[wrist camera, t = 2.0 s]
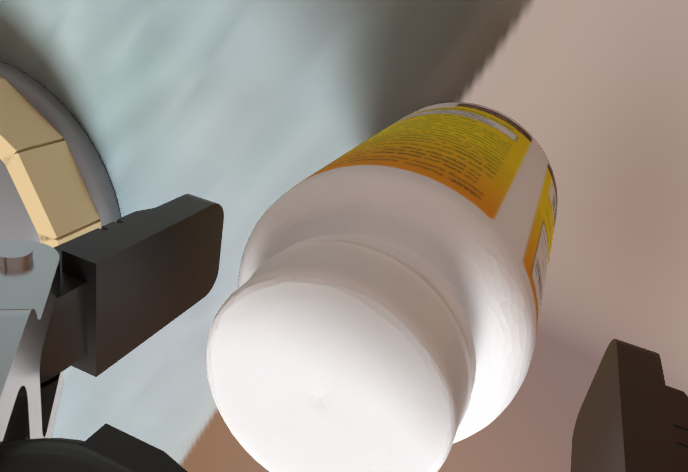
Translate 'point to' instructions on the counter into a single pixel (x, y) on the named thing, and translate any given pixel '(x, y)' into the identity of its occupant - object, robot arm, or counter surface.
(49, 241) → the tan faceted ring
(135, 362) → the counter surface
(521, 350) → the supplement bottle
